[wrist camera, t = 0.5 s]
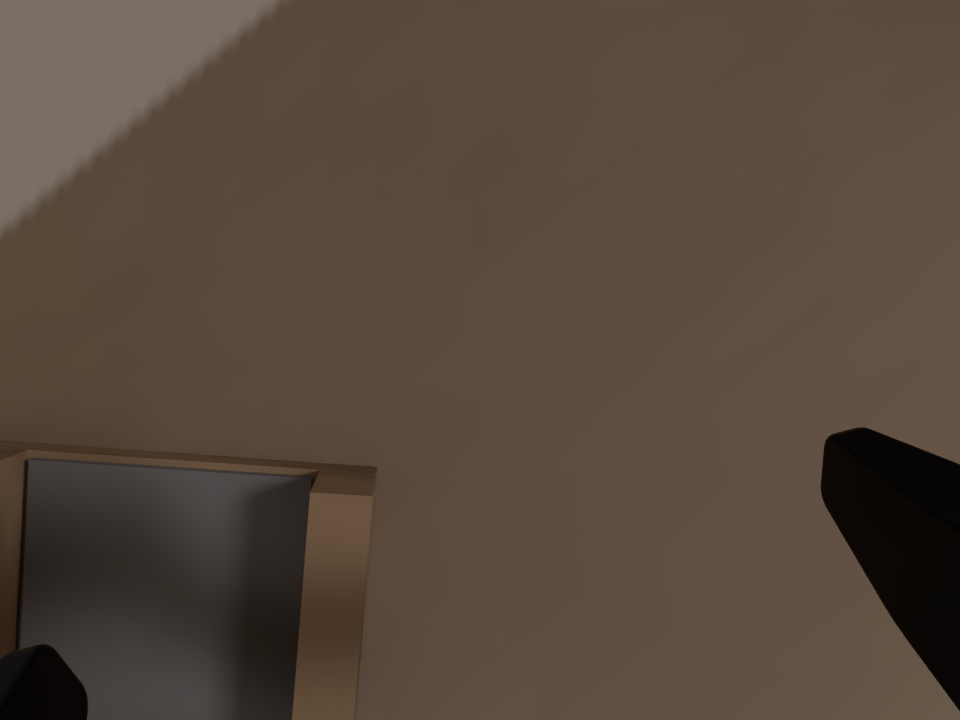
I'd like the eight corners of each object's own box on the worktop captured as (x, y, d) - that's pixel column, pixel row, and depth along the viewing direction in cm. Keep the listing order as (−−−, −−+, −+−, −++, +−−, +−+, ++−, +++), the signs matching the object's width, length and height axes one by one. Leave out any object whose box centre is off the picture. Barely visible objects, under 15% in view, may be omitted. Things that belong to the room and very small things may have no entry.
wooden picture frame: (355, 718, 23) (347, 787, 19) (-29, 707, 21) (-105, 779, 18) (377, 467, 22) (372, 496, 19) (-19, 439, 21) (-94, 466, 18)
